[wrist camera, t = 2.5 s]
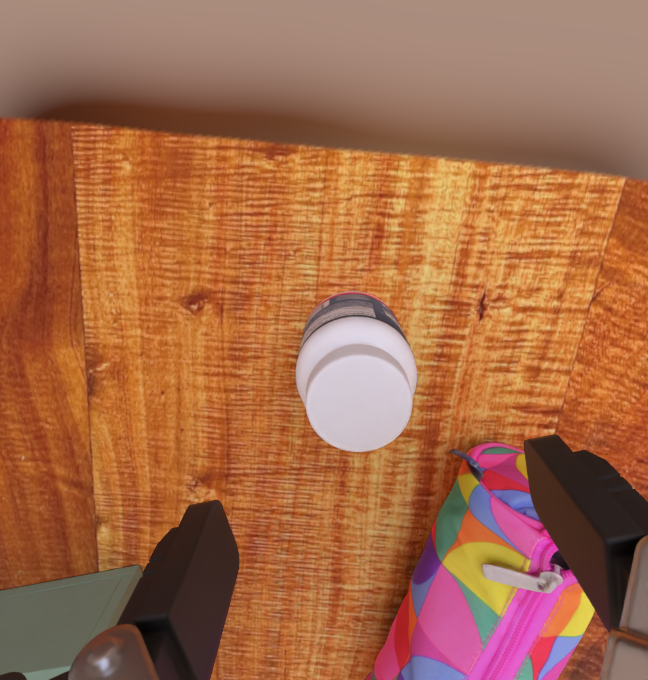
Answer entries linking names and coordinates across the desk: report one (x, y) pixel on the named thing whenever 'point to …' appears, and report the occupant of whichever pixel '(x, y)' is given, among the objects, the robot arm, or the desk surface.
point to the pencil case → (487, 586)
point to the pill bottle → (356, 372)
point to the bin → (59, 619)
